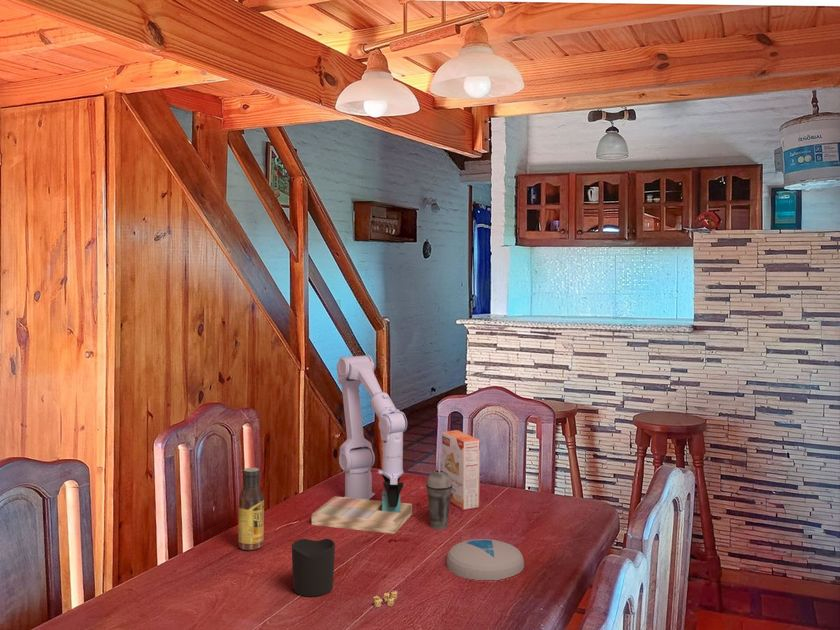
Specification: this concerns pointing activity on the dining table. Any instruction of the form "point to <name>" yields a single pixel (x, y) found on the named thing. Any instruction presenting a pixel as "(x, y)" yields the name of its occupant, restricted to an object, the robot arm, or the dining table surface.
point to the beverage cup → (439, 497)
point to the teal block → (386, 505)
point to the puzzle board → (363, 521)
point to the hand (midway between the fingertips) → (392, 502)
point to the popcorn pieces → (386, 599)
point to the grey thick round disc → (485, 559)
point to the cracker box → (462, 467)
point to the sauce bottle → (251, 512)
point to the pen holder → (313, 566)
